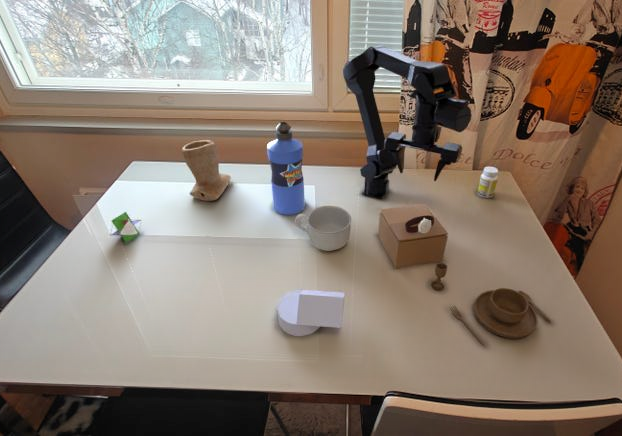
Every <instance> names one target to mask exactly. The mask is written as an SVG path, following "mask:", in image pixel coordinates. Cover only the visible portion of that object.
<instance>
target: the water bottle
mask: <svg viewBox="0 0 622 436" xmlns="http://www.w3.org/2000/svg"><path fill="white" fill-rule="evenodd" d="M291 128H292V126H291V125H290V124H289V123H288V122H286V121H281V122H279V123H278V124H277V125H276V126H275V139H274V140H271V141H269V142H268V143H267V145H266V152H267V159H268V161H269V165H270V170H271V177H270V184H271V196H272V204H273V210H274V211H275V212H276V213H277V214H279V215H280V214H281V215H287V216H289V215H290V216H291V215H292V216H293V215H297V214H300V213H301V212H302V211H303V210H304V209H305V207H306V201H305V200H306V197H305V180H304V175H303V170H302V169H303V158H304V147H303V142H302V141H300V140H299V139H297V138H293V130H292V129H291Z"/></svg>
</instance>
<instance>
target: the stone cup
mask: <svg viewBox="0 0 622 436" xmlns="http://www.w3.org/2000/svg"><path fill="white" fill-rule="evenodd" d="M181 152H182V157H183V160H184V162H185V164H186V166H187V167H188V169H189V171H190V172H191V174H192V175H193V177H194V179H195V184H194V186H193V187H192V189H191V190H190V192H189V195H190V196H191V197H194V198H196V199H198V200H200V201H205V202H210V201H211V202H212V201H216V200H217V199H219V198H220V196H221V195H222V194H223V192H224V191H225V190H226V189H227V187H228V186H229V184H230V182H231V179H232V176H231V175H230V174H225V173H220V170H219V169H220V168H219V166H220V165H219V164H220V163H219V162H220V159H219V153H218V150H217V147H216V144H215V143H214V142H213V140H210V139H203V140H195V141H192V142H189V143H187V144H185V145H184V146H183V147H182V149H181Z"/></svg>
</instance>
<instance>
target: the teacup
mask: <svg viewBox="0 0 622 436" xmlns="http://www.w3.org/2000/svg"><path fill="white" fill-rule="evenodd" d="M301 220H304V221H305V222H306V225H307V226H306V225H304V224H303V223H302V222H301ZM294 221H295V225H296V226H297V228H299V229H300V230H301V231H302V232H304V233H305V234H306V235H308V239H309V241H310V243H311V244H312V245H313V246H314V247H315V248H317V249H319V250H321V251H327V252H333V251H337V250H339V249H341V248H343V247H344V246H345V245H346V244H347V243H348V241H349V239H350V236H351V224H352V216H351V214H350V212H348V211H347V210H346V209H345V208H343V207H340V206H335V205H323V206H319V207H316V208H314V209H312V210H311V211H310V212H309V213H308V215H307V214H306V213H298V214H297V215H296V217H295V220H294Z"/></svg>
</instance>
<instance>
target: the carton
mask: <svg viewBox="0 0 622 436" xmlns="http://www.w3.org/2000/svg"><path fill="white" fill-rule="evenodd" d="M405 224H406V222H401V223H394V224H389V225H388V223H387V221H386V220H385V218H384V216H383V214H382V213H381V211H379V219H378V231H377V237H378V239H379V240H380V242H381V244H382V246H383V248H384V250H385V252H386V253H387V256H388V257H389V259H390V261H391V263H392V265H393V266H394V268H395V269H400V268H407V267H414V266H420V265H426V264H432V263H440V262H443V260H444V255H445V252H446V246H447V243H448V237H449V236H448V235H449V232H448V231H447V230H446V229H445V227H444V226H443V225H442V223H441V222H440V220H438V218H437V217H435V218H434V225H433V226H431V228H430V229H429V231H428V232H427V233H421V232H415V233H408V232H406V227H405ZM419 224H420V223H418V224H415V225H412V226H410V227H413V226H417V225H419Z"/></svg>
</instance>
